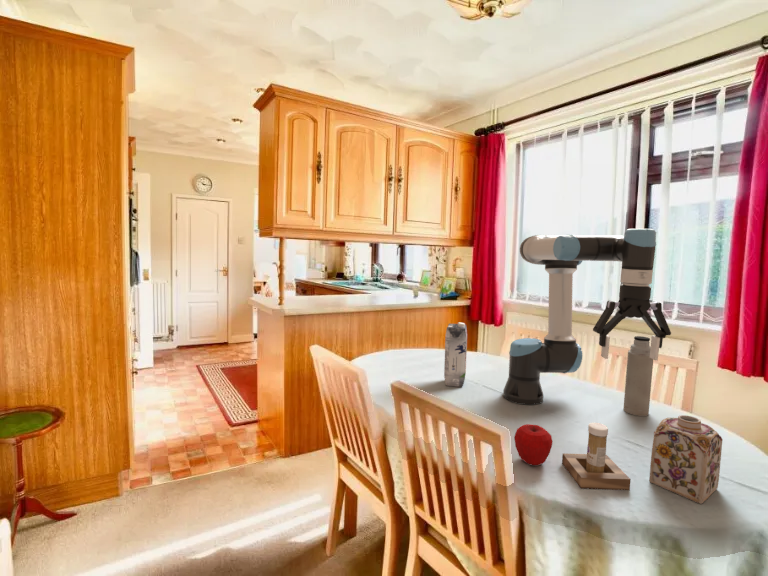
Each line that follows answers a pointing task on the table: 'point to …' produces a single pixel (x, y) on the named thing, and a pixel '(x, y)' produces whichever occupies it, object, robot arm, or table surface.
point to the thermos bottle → (638, 377)
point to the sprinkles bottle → (596, 448)
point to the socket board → (595, 474)
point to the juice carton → (455, 354)
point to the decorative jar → (686, 457)
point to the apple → (533, 444)
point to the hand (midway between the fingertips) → (628, 358)
